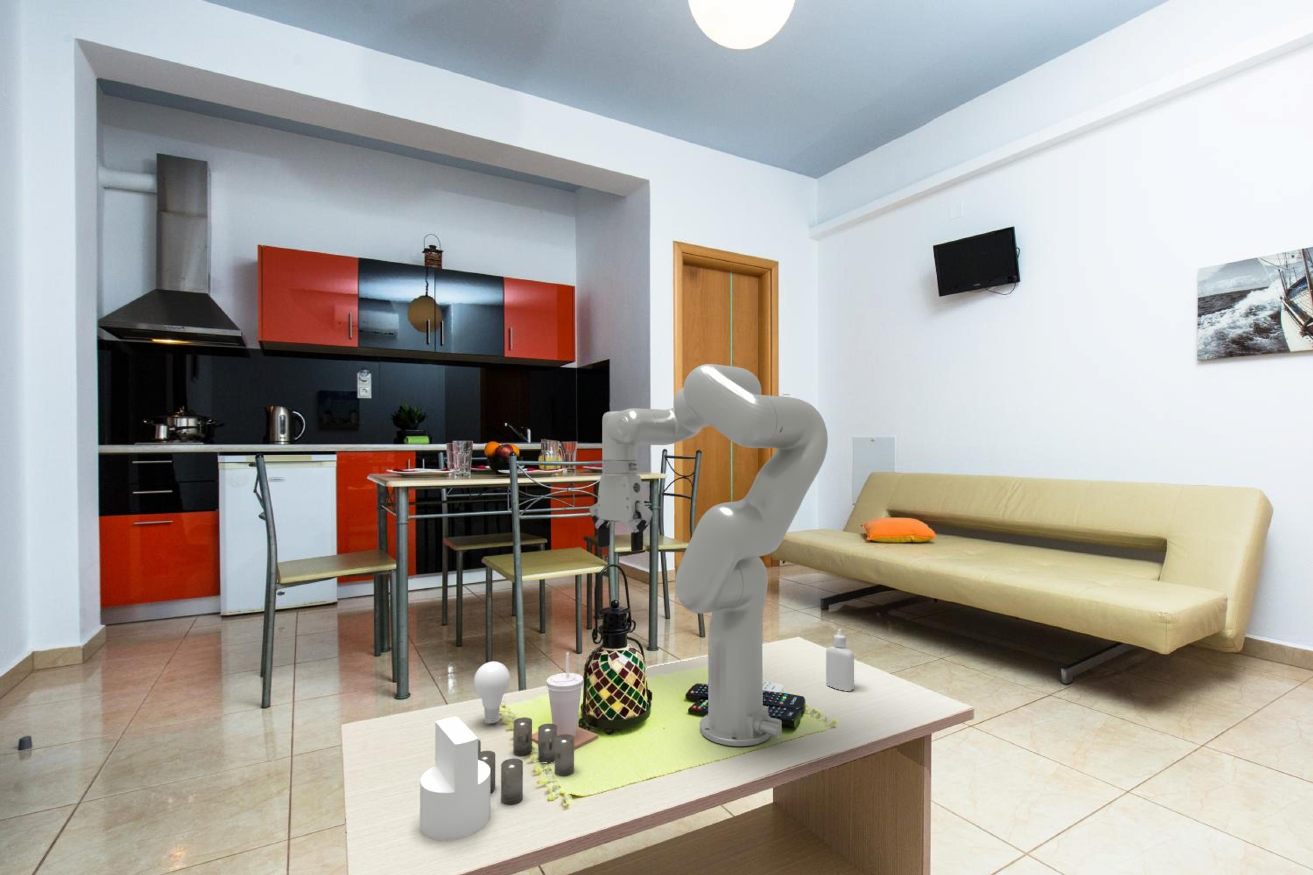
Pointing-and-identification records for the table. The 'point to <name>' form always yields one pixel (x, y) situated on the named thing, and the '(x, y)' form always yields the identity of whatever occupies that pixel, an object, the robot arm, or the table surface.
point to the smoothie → (565, 700)
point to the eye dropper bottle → (840, 664)
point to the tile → (576, 737)
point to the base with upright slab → (454, 785)
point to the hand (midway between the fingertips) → (620, 548)
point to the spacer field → (548, 752)
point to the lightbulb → (491, 688)
